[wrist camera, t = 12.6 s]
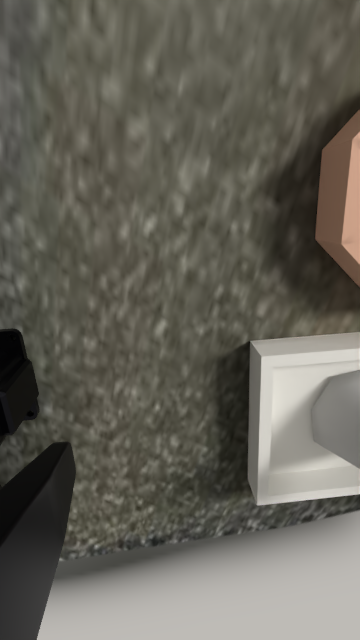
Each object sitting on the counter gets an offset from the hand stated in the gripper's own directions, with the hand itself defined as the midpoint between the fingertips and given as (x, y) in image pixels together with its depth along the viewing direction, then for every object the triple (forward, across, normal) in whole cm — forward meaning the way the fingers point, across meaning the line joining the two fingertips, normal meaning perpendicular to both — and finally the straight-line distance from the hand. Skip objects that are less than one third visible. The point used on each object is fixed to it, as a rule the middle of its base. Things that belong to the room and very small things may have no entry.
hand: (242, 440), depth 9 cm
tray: (+13, -12, +9) cm, 20 cm away
